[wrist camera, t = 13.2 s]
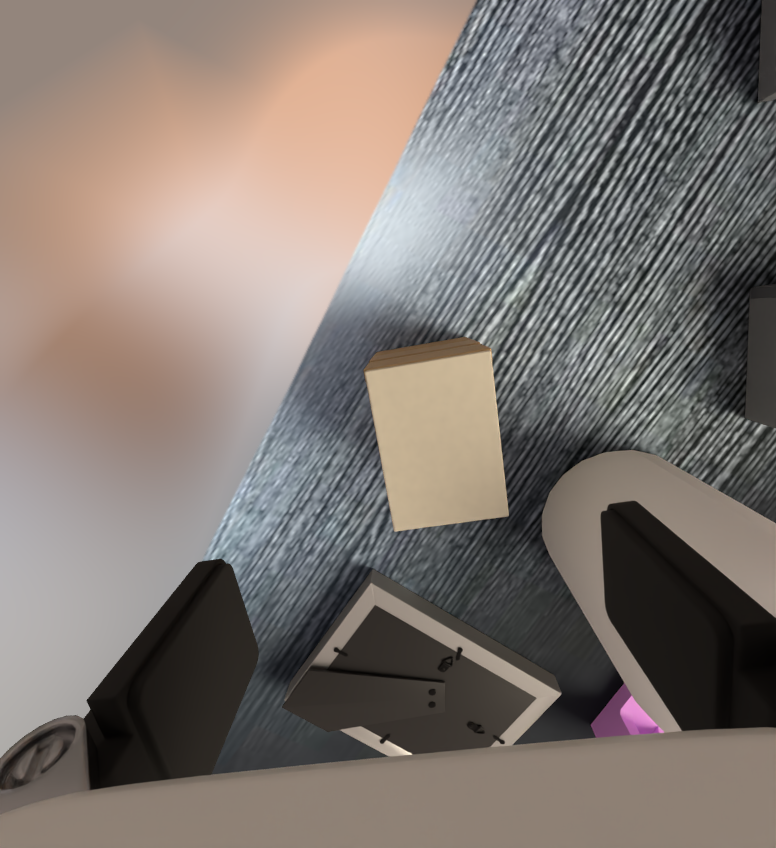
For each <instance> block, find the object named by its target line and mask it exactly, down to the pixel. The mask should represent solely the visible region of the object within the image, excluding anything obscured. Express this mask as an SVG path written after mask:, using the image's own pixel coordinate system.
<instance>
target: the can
mask: <svg viewBox="0 0 776 848" xmlns="http://www.w3.org/2000/svg"><path fill="white" fill-rule="evenodd" d="M626 501H637V502H638V503H639V504H641V505H642V506H643V507H644V508H645V509H646V510H648V511H649V512H650V513H651V514H652V515H654V516H655V517H656V518H657V519H658V520H660V521H661V522H662V523H663V524H664V525H665V526H667V527H668V528H669V529H670V530H671V531H673V532H674V533H675V534H676V535H677V536H679V537H680V538H681V539H682V540H683V541H684V542H686V543H687V544H688V545H689V546H690V547H692V548H693V549H694V550H695V551H696V552H698V553H699V554H700V555H701V556H703V557H704V558H705V559H706V560H707V561H709V562H710V563H711V564H712V565H713V566H715V567H716V568H717V569H718V570H719V571H720V572H722V573H723V574H724V575H725V576H726V577H728V578H729V579H730V580H731V581H732V582H734V583H735V584H736V585H737V586H738V587H739V588H741V589H742V590H743V591H744V592H745V593H747V594H748V595H749V596H750V597H751V598H753V599H754V600H755V601H756V602H757V603H759V604H760V605H761V606H762V607H763V608H764V609H766V610H767V611H768V612H769V613H770V614H772V615H773V616H774V617H775V618H776V523H774V522H772V521H771V520H769V519H767V518H765V517H764V516H762V515H760V514H758V513H757V512H755V511H753V510H751V509H750V508H748V507H746V506H744V505H743V504H741V503H739V502H737V501H736V500H734V499H732V498H730V497H729V496H727V495H725V494H723V493H722V492H720V491H718V490H716V489H715V488H713V487H711V486H709V485H708V484H706V483H704V482H702V481H701V480H699V479H697V478H695V477H694V476H692V475H690V474H688V473H687V472H685V471H683V470H681V469H680V468H678V467H676V466H674V465H672V464H671V463H669V462H667V461H665V460H664V459H662V458H660V457H658V456H657V455H653V454H649V453H644V452H639V451H635V450H626V451H613V452H604V453H601V454H599V455H596V456H593V457H591V458H588V459H585V460H583V461H581V462H580V463H578V464H577V465H575V466H574V467H573V468H571V469H570V470H569V471H567V472H566V473H565V474H563V475H562V477H561V478H560V479H559V481H558V482H557V483H556V485H555V486H554V487H553V489H552V490H551V491H550V493H549V495H548V498H547V501H546V504H545V507H544V510H543V513H542V537H543V540H544V542H545V545H546V547H547V550H548V553H549V555H550V557H551V558H552V560H553V562H554V564H555V565H556V567H557V569H558V570H559V572H560V574H561V575H562V577H563V579H564V581H565V582H566V584H567V586H568V587H569V589H570V591H571V593H572V594H573V596H574V598H575V599H576V601H577V603H578V604H579V606H580V608H581V610H582V611H583V613H584V615H585V616H586V618H587V620H588V622H589V623H590V625H591V627H592V628H593V630H594V632H595V633H596V635H597V637H598V639H599V640H600V642H601V644H602V645H603V647H604V649H605V650H606V652H607V654H608V656H609V657H610V659H611V661H612V662H613V664H614V666H615V668H616V669H617V671H618V673H619V674H620V676H621V678H622V679H623V681H624V683H625V685H626V686H627V688H628V690H629V691H630V693H631V695H632V696H633V698H634V700H635V702H636V703H637V704H638V705H639V706H640V707H641V708H642V709H643V710H644V711H645V712H646V714H647V715H648V716H649V717H650V718H651V719H652V720H653V721H654V722H655V723H656V724H657V725H658V726H659V727H660V728H661V729H662V730H663V731H664V732H677V731H682V730H681V729H680V727H679V725H678V724H677V722H676V721H675V719H674V718H673V716H672V715H671V713H670V712H669V710H668V709H667V707H666V706H665V704H664V703H663V701H662V699H661V698H660V696H659V695H658V693H657V692H656V690H655V689H654V687H653V686H652V684H651V683H650V681H649V680H648V678H647V676H646V675H645V673H644V672H643V670H642V669H641V667H640V666H639V664H638V663H637V661H636V660H635V658H634V657H633V655H632V654H631V652H630V650H629V649H628V647H627V646H626V644H625V643H624V641H623V640H622V638H621V637H620V635H619V634H618V632H617V631H616V629H615V627H614V626H613V624H612V623H611V621H610V619H609V617H608V615H607V612H606V608H605V598H604V578H603V558H602V538H601V519H600V517H601V512H602V511H606V510H607V507H608V505H609V504H612V503H619V502H626Z"/></svg>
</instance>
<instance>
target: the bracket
mask: <svg viewBox="0 0 776 848" xmlns="http://www.w3.org/2000/svg"><path fill="white" fill-rule="evenodd" d="M591 727H592V729H593V732H594V734H595V736H596V738H600V737H611V736H623V735H637V734H651V733H664V731H663V730H662V729H661V728H660V727H659V726H658V725H657V724H656V723H655V722H654V721H653V720H652V719H651V718H650V717H649V716H648V715H647V714H646V712H645V711H644V710H643V709H642V708H641V707H640V706H639V705H638V704H637V703H636V702H635V700H634V698H633V696H632V695H631V693H630V691H629V690H628V688H627V686H626V685H625V683H624V684H623V685H622V686H621V688H620V689H619V690H618V691H617V693H616V694H615V695H614V696H613V698H612V699H611V700H610V701H609V703H608V704H607V705H606V706H605V708H604V709H603V710H602V711H601V713H600V714H599V715H598V716H597V718H596V719H595V720H594V721H593V723H592V724H591Z"/></svg>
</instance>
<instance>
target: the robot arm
mask: <svg viewBox="0 0 776 848" xmlns="http://www.w3.org/2000/svg"><path fill="white" fill-rule="evenodd" d="M600 519H601V538H602V558H603V578H604V598H605V608H606V612H607V615H608V617H609V619H610V621H611V623H612V624H613V626H614V627H615V629H616V631H617V632H618V634H619V635H620V637H621V638H622V640H623V641H624V643H625V644H626V646H627V647H628V649H629V650H630V652H631V654H632V655H633V657H634V658H635V660H636V661H637V663H638V664H639V666H640V667H641V669H642V670H643V672H644V673H645V675H646V676H647V678H648V680H649V681H650V683H651V684H652V686H653V687H654V689H655V690H656V692H657V693H658V695H659V696H660V698H661V699H662V701H663V703H664V704H665V706H666V707H667V709H668V710H669V712H670V713H671V715H672V716H673V718H674V719H675V721H676V722H677V724H678V725H679V727H680V729H681V730H682V731H677V732H664V733H651V734H637V735H623V736H611V737H600V738H589V739H577V740H566V741H555V742H544V743H533V744H522V745H510V746H499V747H488V748H477V749H466V750H456V751H445V752H435V753H424V754H414V755H403V756H393V757H383V758H372V759H362V760H352V761H342V762H331V763H321V764H311V765H301V766H292V767H282V768H272V769H263V770H253V771H243V772H233V773H224V774H214V775H211V774H212V771H213V769H214V766H215V764H216V762H217V759H218V757H219V754H220V752H221V749H222V747H223V745H224V742H225V740H226V737H227V735H228V732H229V730H230V728H231V725H232V723H233V720H234V718H235V715H236V713H237V711H238V708H239V706H240V703H241V701H242V698H243V696H244V694H245V691H246V689H247V686H248V684H249V681H250V679H251V677H252V674H253V672H254V669H255V667H256V664H257V661H258V646H257V642H256V639H255V636H254V633H253V630H252V627H251V624H250V621H249V618H248V614H247V611H246V608H245V605H244V602H243V599H242V596H241V593H240V590H239V586H238V583H237V580H236V577H235V574H234V571H233V568H232V566H231V565H230V564H226V563H225V561H224V560H222V559H216V560H209V561H202V562H198V563H197V564H196V565H195V567H194V568H193V569H192V570H191V571H190V572H189V574H188V575H187V576H186V577H185V579H184V580H183V581H182V582H181V584H180V585H179V587H177V589H176V590H175V591H174V592H173V594H172V595H171V596H170V597H169V599H168V600H167V601H166V602H165V604H164V605H163V606H162V607H161V609H160V610H159V611H158V613H157V614H156V615H155V616H154V618H153V619H152V620H151V621H150V622H149V624H148V625H147V626H146V627H145V629H144V630H143V631H142V632H141V633H140V635H139V636H138V637H137V638H136V640H135V641H134V642H133V643H132V645H131V646H130V647H129V648H128V650H127V651H126V652H125V653H124V655H123V656H122V657H121V658H120V660H119V661H118V662H117V663H116V664H115V666H114V667H113V668H112V670H111V671H110V672H109V673H108V675H107V676H106V677H105V678H104V679H103V681H102V682H101V683H100V685H99V686H98V687H97V688H96V689H95V691H94V692H93V693H92V694H91V696H90V697H89V698H88V699H87V703H88V705H89V707H90V709H91V710H90V711H89V713H88V714H87V715H86V716H85V718H84V719H83V718H81V717H79V716H76V715H75V716H64V717H61V718H57V719H54V720H52V721H50V722H48V723H45V724H43V725H42V726H39V727H38V728H36V729H35V730H33V731H32V732H30V733H29V734H27V735H26V736H24V737H23V738H22V739H20V740H19V741H18V742H17V743H16V744H14V745H13V746H12V747H11V748H10V749H9V750H8V751H7V752H6V753H5V754H4V755H3V756H2V757H1V758H0V848H776V618H775V617H774V616H773V615H772V614H770V613H769V612H768V611H767V610H766V609H764V608H763V607H762V606H761V605H760V604H759V603H757V602H756V601H755V600H754V599H753V598H751V597H750V596H749V595H748V594H747V593H745V592H744V591H743V590H742V589H741V588H739V587H738V586H737V585H736V584H735V583H734V582H732V581H731V580H730V579H729V578H728V577H726V576H725V575H724V574H723V573H722V572H720V571H719V570H718V569H717V568H716V567H715V566H713V565H712V564H711V563H710V562H709V561H707V560H706V559H705V558H704V557H703V556H701V555H700V554H699V553H698V552H696V551H695V550H694V549H693V548H692V547H690V546H689V545H688V544H687V543H686V542H684V541H683V540H682V539H681V538H680V537H679V536H677V535H676V534H675V533H674V532H673V531H671V530H670V529H669V528H668V527H667V526H665V525H664V524H663V523H662V522H661V521H660V520H658V519H657V518H656V517H655V516H654V515H652V514H651V513H650V512H649V511H648V510H646V509H645V508H644V507H643V506H642V505H641V504H639V503H638V502H637V501H626V502H619V503H612V504H609V505H608V507H607V510H606V511H602V512H601V517H600Z"/></svg>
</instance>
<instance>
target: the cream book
mask: <svg viewBox="0 0 776 848" xmlns="http://www.w3.org/2000/svg"><path fill="white" fill-rule="evenodd" d="M364 376H365V381H366V383H367V389H368V394H369V399H370V405H371V410H372V415H373V421H374V426H375V431H376V437H377V442H378V448H379V453H380V458H381V464H382V469H383V474H384V480H385V485H386V490H387V496H388V501H389V506H390V512H391V517H392V522H393V528H394V531H402V530H409V529H417V528H424V527H432V526H439V525H447V524H454V523H462V522H469V521H477V520H484V519H492V518H500V517H507V516H509V511H508V502H507V493H506V484H505V475H504V466H503V457H502V448H501V439H500V430H499V421H498V412H497V403H496V394H495V385H494V376H493V367H492V353H491V348H489V347H486V346H484V345H482V344H478V345H472V346H466V347H460V348H454V349H448V350H442V351H436V352H430V353H424V354H419V355H413V356H407V357H401V358H395V359H389V360H383V361H377V362H371V363H369V364H368V365H367V366H366V367H365V369H364Z"/></svg>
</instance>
